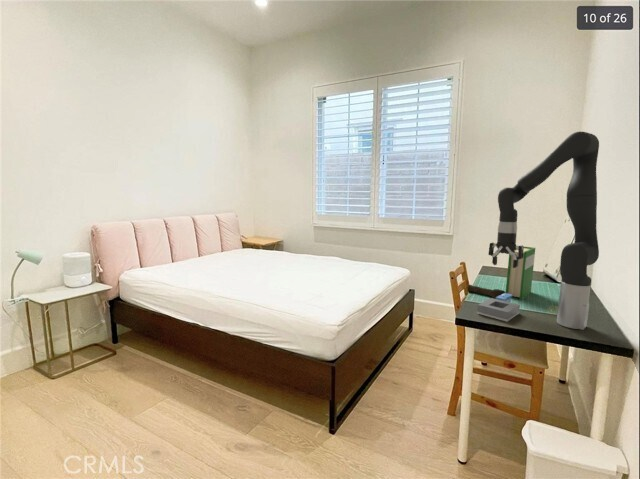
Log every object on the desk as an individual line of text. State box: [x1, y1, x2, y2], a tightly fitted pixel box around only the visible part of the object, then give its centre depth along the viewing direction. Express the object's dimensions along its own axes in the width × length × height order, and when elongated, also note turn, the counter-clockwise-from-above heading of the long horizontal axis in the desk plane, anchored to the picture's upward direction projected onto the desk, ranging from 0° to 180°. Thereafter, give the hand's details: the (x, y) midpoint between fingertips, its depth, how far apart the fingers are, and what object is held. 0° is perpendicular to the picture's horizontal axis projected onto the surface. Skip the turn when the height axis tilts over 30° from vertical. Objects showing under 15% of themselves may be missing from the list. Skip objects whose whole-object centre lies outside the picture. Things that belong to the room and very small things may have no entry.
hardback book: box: [505, 246, 536, 300], centre depth 170 cm, size 18×7×24 cm, turn 135°
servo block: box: [495, 292, 513, 303], centre depth 156 cm, size 4×10×5 cm, turn 132°
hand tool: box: [467, 284, 506, 299], centre depth 169 cm, size 19×4×5 cm, turn 38°
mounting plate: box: [476, 297, 521, 322], centre depth 144 cm, size 12×14×4 cm
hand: (504, 266), depth 154 cm, fingers open, 8 cm apart
